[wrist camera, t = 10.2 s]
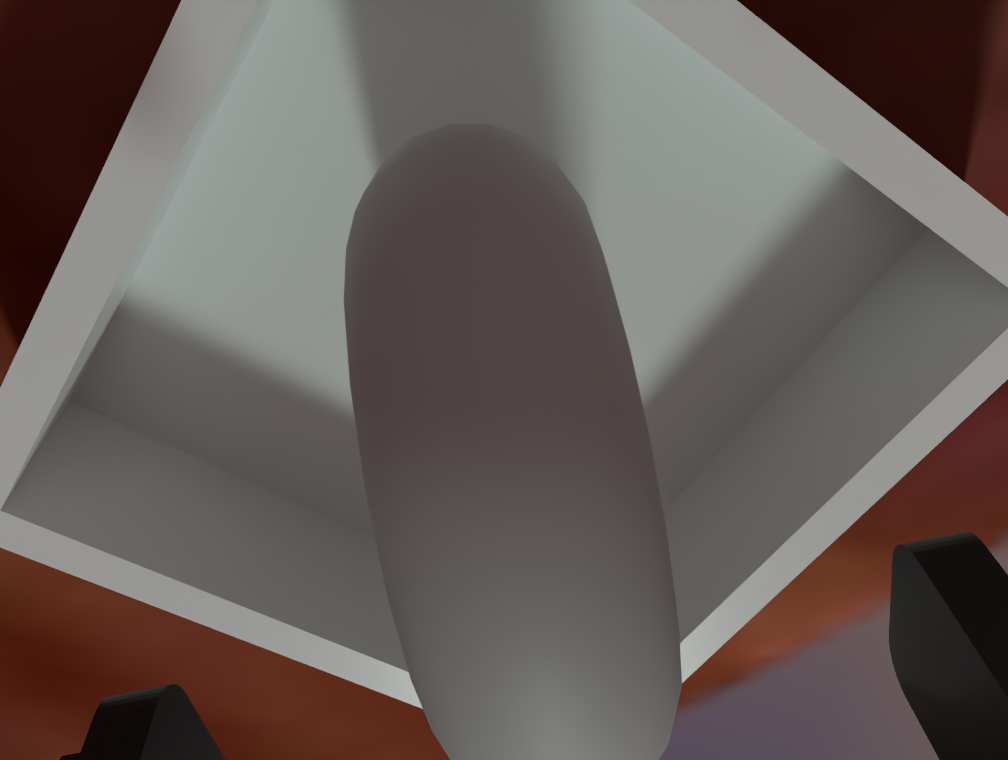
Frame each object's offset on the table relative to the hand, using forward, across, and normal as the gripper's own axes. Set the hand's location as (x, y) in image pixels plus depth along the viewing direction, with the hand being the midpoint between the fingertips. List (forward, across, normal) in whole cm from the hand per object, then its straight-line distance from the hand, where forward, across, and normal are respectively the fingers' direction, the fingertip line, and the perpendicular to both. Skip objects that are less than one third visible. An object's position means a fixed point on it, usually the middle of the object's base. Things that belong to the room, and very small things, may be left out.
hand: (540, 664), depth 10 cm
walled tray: (+10, 0, 0) cm, 10 cm away
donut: (+9, 0, 0) cm, 9 cm away
